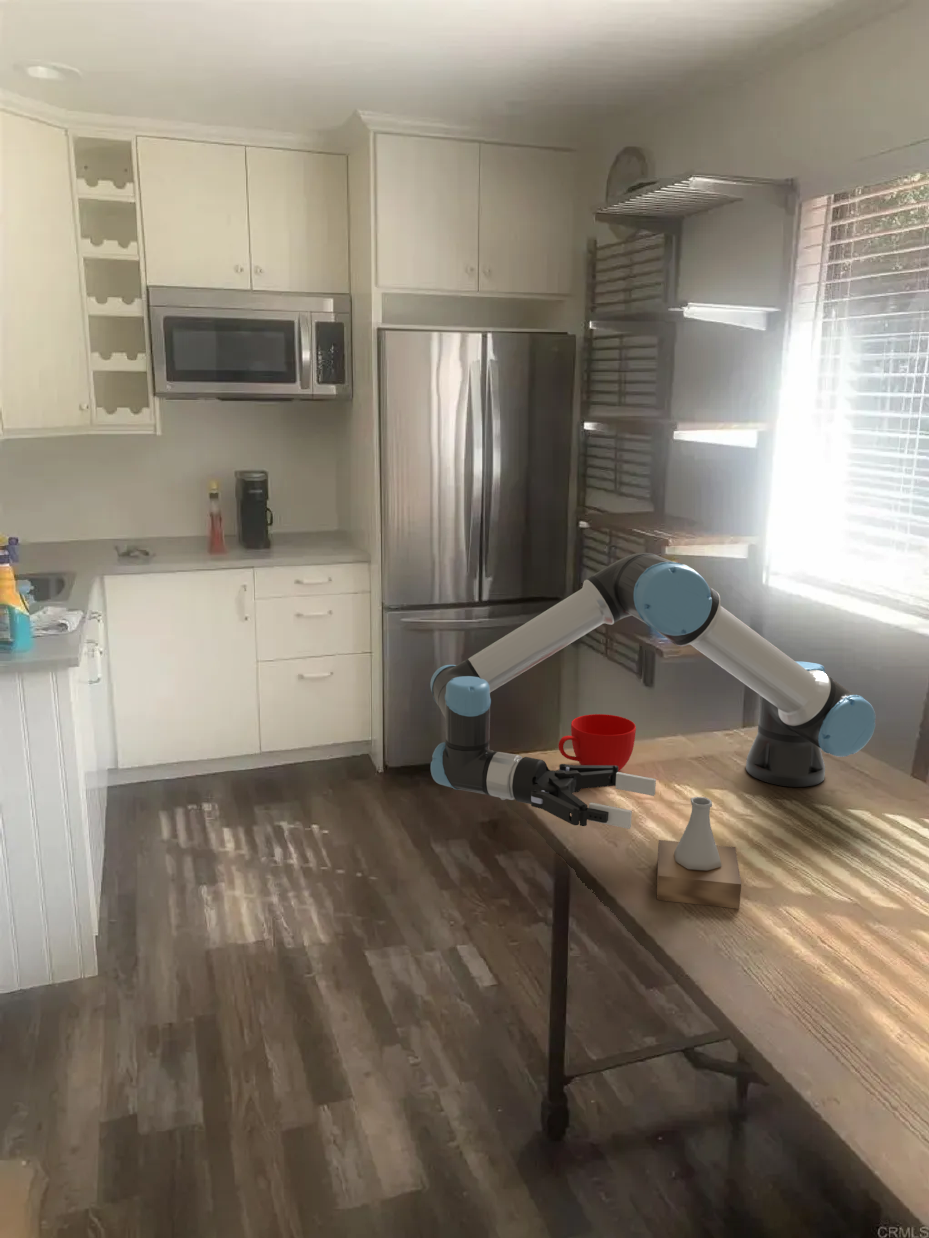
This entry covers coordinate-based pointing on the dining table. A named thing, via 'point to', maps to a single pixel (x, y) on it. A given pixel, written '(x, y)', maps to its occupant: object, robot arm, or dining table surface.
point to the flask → (698, 839)
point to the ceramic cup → (601, 740)
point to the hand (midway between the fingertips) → (643, 802)
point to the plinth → (698, 879)
